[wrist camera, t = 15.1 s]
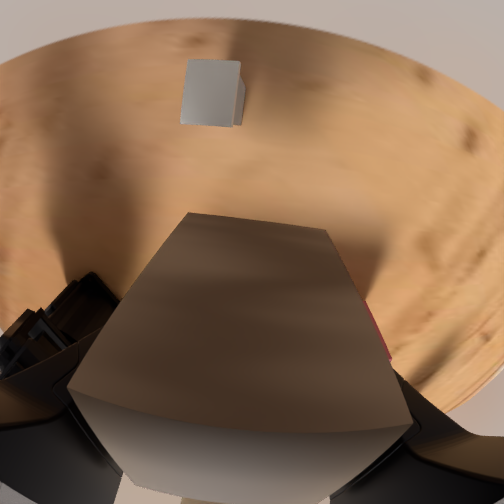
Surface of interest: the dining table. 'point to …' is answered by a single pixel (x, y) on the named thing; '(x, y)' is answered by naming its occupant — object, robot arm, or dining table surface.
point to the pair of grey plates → (213, 93)
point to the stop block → (242, 369)
